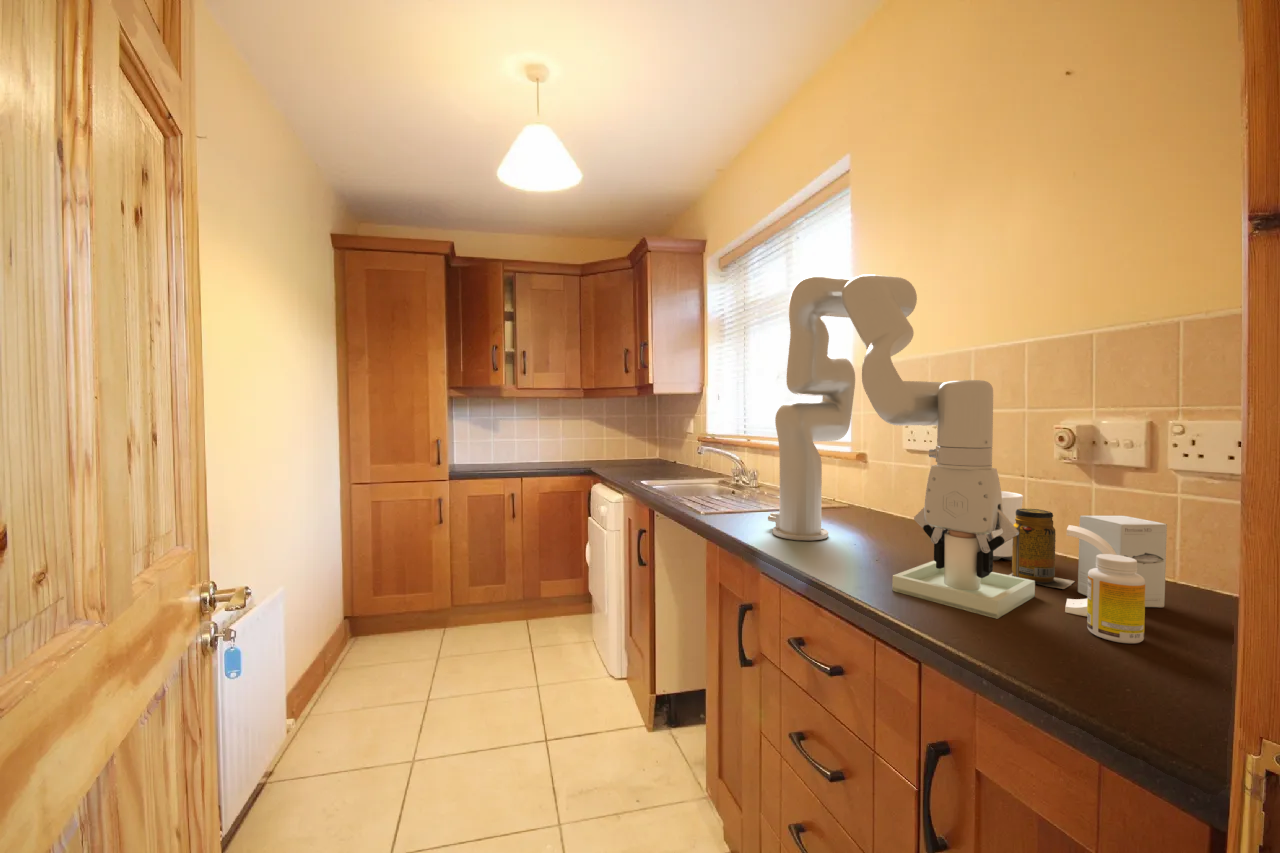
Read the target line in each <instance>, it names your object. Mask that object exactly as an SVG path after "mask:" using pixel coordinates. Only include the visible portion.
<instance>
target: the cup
mask: <svg viewBox="0 0 1280 853" xmlns="http://www.w3.org/2000/svg"><path fill="white" fill-rule="evenodd" d="M1001 495H1002V508H1003V514H1004V515H1005V516H1006V517H1007V518H1008V520H1009V521H1010V522H1011V523H1012V524H1013V525H1014V524H1015V523H1016V520H1015V518H1016V510H1017V509H1023V508H1022V507H1023V501H1024V495H1023V494H1021V493H1017V492H1013V491H1012V492H1011V491H1005V490H1004V491H1002V490H1001ZM1002 533H1003V530H1002V528H1001V529H999V530H996V531H992V534H993V537H994V538H995V537H997V536H999V535H1000V534H1002ZM1012 545H1013V538H1012V539H1010V540H1009V541H1007V542H1005V543H1004V544H1002V545H1001V546H1000V547H998V548H997V549H996V550H994V551H993V561H1000V559H1003V560H1006V561H1012V549H1013V548H1012V547H1013V546H1012Z"/></svg>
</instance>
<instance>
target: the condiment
mask: <svg viewBox="0 0 1280 853" xmlns="http://www.w3.org/2000/svg"><path fill="white" fill-rule="evenodd" d="M1053 517H1054V515H1053V512H1051V511H1049V510H1046V509H1045V510H1044V509H1037V508H1036V509H1035V508H1022V509H1017V510H1016V518H1015V520H1016V523H1015V524H1014V527H1015V528H1016V529H1017V530H1018V531H1019V535H1017V536H1016V537H1014V538H1013V545H1012V546H1013V547H1012V548H1013V549H1012V560H1011V571H1012V572H1011V573H1010V574H1008V575H1010V576H1014V577H1019V578H1024V579H1029V580H1034V581H1035V585H1040V586H1045V587H1049V588H1056V589H1062V590H1065V589H1067V588H1069V587H1070V586H1072V584H1074V583H1075V582H1076V581H1075V580H1071V579H1065V578H1061V577H1056V540H1057V539H1056V529H1055V527H1054V519H1053Z"/></svg>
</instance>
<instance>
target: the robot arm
mask: <svg viewBox="0 0 1280 853" xmlns="http://www.w3.org/2000/svg"><path fill="white" fill-rule="evenodd" d="M917 296H918V295H917V292H916V288H915V286H914V285H913V284H912V283H911V282H910V281H909V280H907V279H906V278H903V277H899V276H889V275H879V274H861V275H859V276H855V277H845V276H837V275H829V274H828V275H827V274H826V275H825V274H823V275H822V274H819V275H809V276H806V277H804V278H802V279H801V280H799V281H798V282H797V283H796V285H795V286H794V288H793V289H792V291H791V293H790V296H789V300H788V301H789V303H788V321H789V330H790V334H789V335H790V337H789V338H790V339H789V345H788V346H789V348H788V358H787V367H786V387H787V389H788V391H790V393H793V394H795V395H798V396H799V395H800V396H814V397H815V396H818V397H819V396H821V397H822V400H821V401H820V400H818V401H817V400H793V401H789V402H786V403H784V404H783V405H781V406H780V407H779V408H778V409H777V412H776V414H775V417H774V418H775V420H774V421H775V422H774V423H775V429H776V434H777V440H778V452H779V500H778V501H779V511H778V513H777V512H771V513H770V514H769V515H768V516H767V521H769V522H772V523H773V522H774V523H775V526H774V527H773V528H772V534H773V535H774V536H776V537H777V538H780V539H781V538H782V539H786V540H794V541H805V542H808V541H810V542H811V541H812V542H813V541H820V540H825V539H827V538H828V537H829V531H828V530H827V529H824V528H823V527H822V496H823V495H822V492H823V491H822V488H823V485H822V480H823V478H822V477H823V476H822V474H823V471H822V469H823V468H822V467H823V466H822V458H821V455H820V453H819V451H818V449H817V447H816V445H815V444H814V442H832V441H833V442H834V441H835V442H836V441H839V440H841V439H843V438H844V437H845V435H847V433H848V431H849V429H850V425H851V420H852V411H853V404H854V395H855V388H856V372H855V368H854V365H853V364H852V362H851V361H850V360H849V359H848V358H846V357H844V356H841V355H832V354H830V355H829V354H828V349H829V341H830V336H829V332H828V329H827V325H826V324H825V322H824V320H823V318H822V317H823V316H825V317H835V318H849V319H850V321H851V323H852V324H853V326H854V328H855V331H856V332H857V334H858V336H859V338H860V340H861V342H862V343H863V345H864V347H865V349H866V353H865V355H864V358H863V360H862V361H863V362H862V365H861V367H862V368H861V382H862V386H863V389H864V391H865V393H866V395H867V397H868V399H869V402H870V403H871V406H872V407H873V410H874V411H875V412H876V414H878V416H879V418H881V420H883V421H884V422H886V423H888V424H890V425H893V426H926V427H927V426H937V428H936V429H937V430H936V431H937V432H936V434H937V435H936V436H937V437H936V441H937V442H936V443H937V444H936V446H935V448H934V449H931V448H930V449H929V450H928V457H929V458H933V459H935V463H936V464H933V465H932V464H931V466H930V468H929V469H930V470H929V473H928V477H927V482H926V489H925V496H924V497H925V499H924V507H922V509H921V510H920V511H918V512H917V513H916V515H915V516H914V517H913V520H914V522H916V524H917V525H918V526H920V528H921V529H922V530H923V531H924V532H925V534H926V535H927V536H928V537H929V539H930V541H931V543H932V544H933V561H936V568H938V569H941V568H944V548H945V533H947V532H949V530H955V531H962V532H968V533H974V534H976V535H977V538H978V541H979V544H980V547H981V548H980V552H977V576H978V577H979V578H984V577H986V576H988V575H989V574H990V573H991V572H993V571H994V560H993V551H994V550H996V549H997V548H998V547H1000V546H1001V545H1002V544H1004V543H1005V542H1007V541H1009V540H1010V539H1012V538H1014V537H1016V536H1017V535H1019V531H1018V530H1017V529H1016V528H1015V527H1014V525H1013V524H1012V523H1011V522H1010V521H1009V520H1008V518H1007V517H1006V516H1005V515H1004V514H1003V508H1002V495H1001V491H1002V490H1001V483H1000V478H999V477H1000V476H999V472H998V470H997V468H995V467H994V468H993V443H994V442H993V438H994V437H993V430H994V429H993V428H994V388H993V386H992V384H991V383H990V382H989V381H986V380H981V379H968V380H967V379H964V380H960V379H959V380H950V381H945V382H940V381H915V380H913V381H910V380H903V379H902V377H901V376H900V374H899V373H898V371H897V369H896V368H895V365H894V363H893V360H892V357H893V356H895V355H897V354H899V353H900V352H902V351H903V350H904V349H905V348H906V347H908V346H909V344H910V343H911V342H912V340H913V338H914V334H915V332H914V328H913V326H912V325H911V323H910V321H909V320H908V317H910V315H911V314H912V313H913V312H914V311H915V309H916V306H917V303H918V302H917V300H918V299H917V298H918V297H917ZM1001 528H1002V530H1003V533H1002V534H1000V535H999V536H997V537H995V538H994V537H993V534H992V531H996V530H999V529H1001Z"/></svg>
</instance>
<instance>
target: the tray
mask: <svg viewBox="0 0 1280 853" xmlns="http://www.w3.org/2000/svg"><path fill="white" fill-rule="evenodd" d="M891 586H892V589H891V590H892V592H895V593H900V594H903V595H907V596H909V597H910V596H911V597H914V598H918V599H921V600H926V601H929V602H932V603H937V604H940V605H945V606H948V607H952V608H955V609H959V610H963V611H966V612H970V613H974V614H977V615H981V616H984V617H985V616H986V617H988V618H992V619H996V620H997V619H1000V618H1001V617H1002V616H1004V615H1006V614H1008V613H1009V612H1011V611H1013V610H1014V609H1017V608H1019V607H1020V606H1021V605H1023V604H1024V603H1027V602H1028V601H1030V600H1032V599H1033V598H1035V596H1036V595H1035V594H1036V590H1035V589H1036V584H1035V581H1034V580H1029V579H1024V578H1019V577H1014V576H1010V575H1009V574H1005V573H999V572H995V571H992V572H991V573H990V574H989V575H988V576H986V577H984V578H981V587H980V589H979V590H972V591H971V590H960V589H955V588H952V587H949V586H947V585H945V584H944V568H941V569H938V568H936V561H934V560H931V561H928V562H926V563H923V564H920V565H917V566H916V567H912V568H909V569H906V570H904V571H901V572H899V573H896V574H893V575H892V584H891Z"/></svg>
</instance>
